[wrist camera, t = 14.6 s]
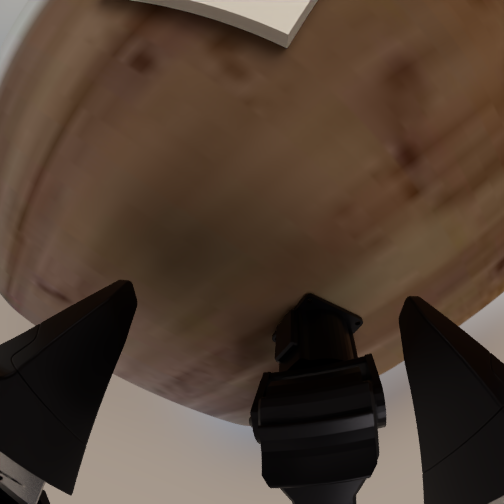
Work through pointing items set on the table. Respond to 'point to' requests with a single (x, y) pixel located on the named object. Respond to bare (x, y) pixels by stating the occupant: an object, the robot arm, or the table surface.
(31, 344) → the robot arm
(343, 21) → the table surface
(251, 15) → the white board
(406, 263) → the table surface
